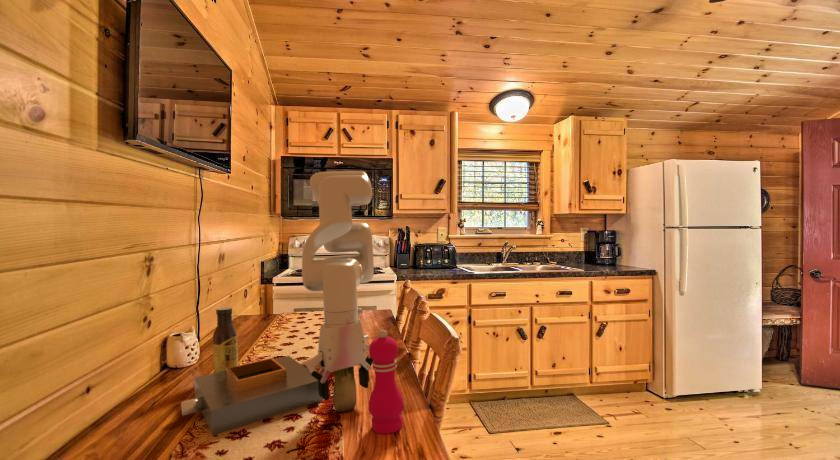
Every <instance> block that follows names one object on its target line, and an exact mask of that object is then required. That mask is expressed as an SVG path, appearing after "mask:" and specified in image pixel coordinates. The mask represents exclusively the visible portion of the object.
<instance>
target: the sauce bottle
mask: <svg viewBox="0 0 840 460" xmlns="http://www.w3.org/2000/svg"><path fill="white" fill-rule="evenodd" d="M215 311H216V317H217V320H216V321H217V322H216V324H217V326H216V328H215V330H214V332H213V334H212V335H213V336H212V338H213V339H212V340H213V342H212V352H213V353H212V354H213V359H212V360H213V373H217V372H221V371H225V370H226V368H230V367H234V366H238V365H239V348H238V347H239V345H238V344H239V343H238V342H239V341H238V334H237V332H236V330H235V327H234V324H233V317H232V316H233V308H232V307H227V306H226V307H221V308H217V309H216V310H215Z"/></svg>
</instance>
